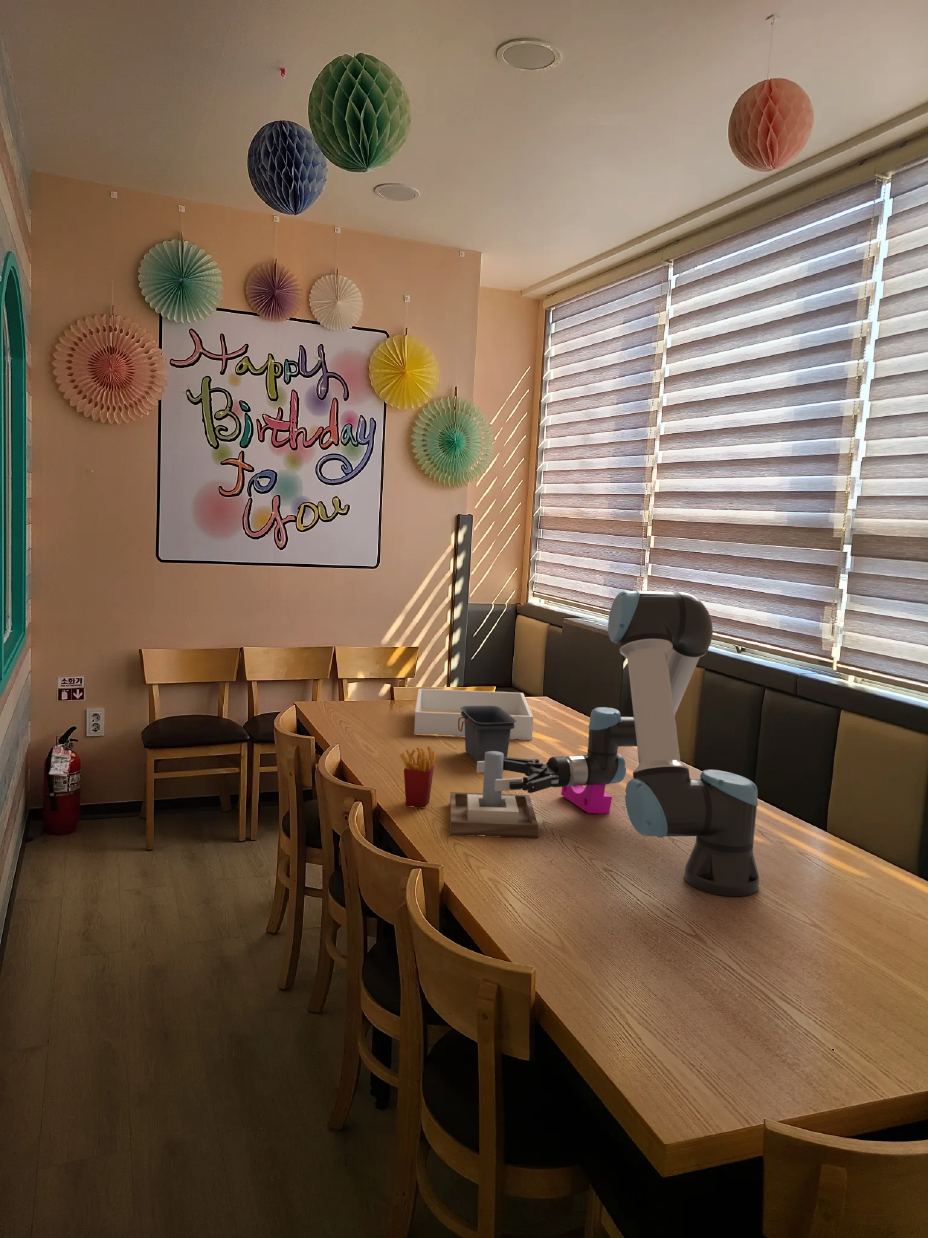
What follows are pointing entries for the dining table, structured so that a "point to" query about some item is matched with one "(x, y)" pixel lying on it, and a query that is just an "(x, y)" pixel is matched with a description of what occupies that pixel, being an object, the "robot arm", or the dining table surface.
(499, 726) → the storage bin
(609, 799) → the toy block
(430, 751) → the french fries
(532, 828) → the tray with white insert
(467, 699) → the white shallow tray
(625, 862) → the dining table surface
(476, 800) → the bore block
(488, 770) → the peg
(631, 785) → the robot arm
